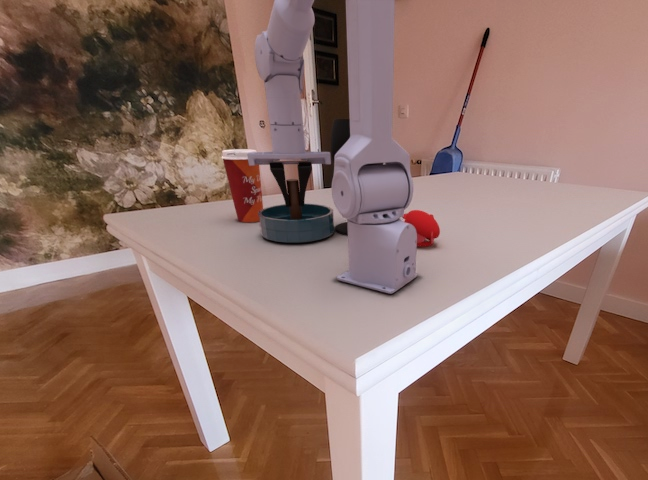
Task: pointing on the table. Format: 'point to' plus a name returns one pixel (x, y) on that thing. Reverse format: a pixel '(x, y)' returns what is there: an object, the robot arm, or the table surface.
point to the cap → (423, 226)
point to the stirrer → (294, 199)
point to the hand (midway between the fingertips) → (295, 205)
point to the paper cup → (243, 184)
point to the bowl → (296, 223)
